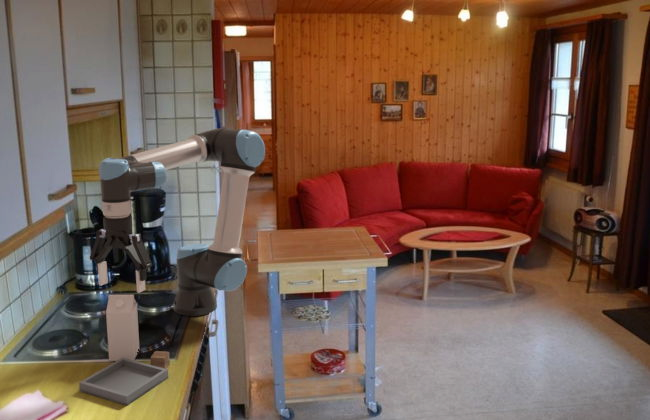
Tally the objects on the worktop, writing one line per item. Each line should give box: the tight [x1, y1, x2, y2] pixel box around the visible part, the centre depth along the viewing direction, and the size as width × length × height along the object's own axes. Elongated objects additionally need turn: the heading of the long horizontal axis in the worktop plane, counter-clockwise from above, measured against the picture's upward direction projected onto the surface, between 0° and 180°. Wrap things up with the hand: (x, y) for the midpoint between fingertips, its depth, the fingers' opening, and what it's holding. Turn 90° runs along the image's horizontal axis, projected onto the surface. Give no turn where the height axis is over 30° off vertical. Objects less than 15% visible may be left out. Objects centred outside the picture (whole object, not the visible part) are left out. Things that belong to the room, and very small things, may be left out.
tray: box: [78, 358, 169, 406], centre depth 162 cm, size 16×16×2 cm
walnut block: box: [150, 350, 171, 369], centre depth 172 cm, size 4×4×4 cm
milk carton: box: [105, 294, 140, 362], centre depth 177 cm, size 7×7×19 cm
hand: (122, 287), depth 173 cm, fingers open, 13 cm apart
